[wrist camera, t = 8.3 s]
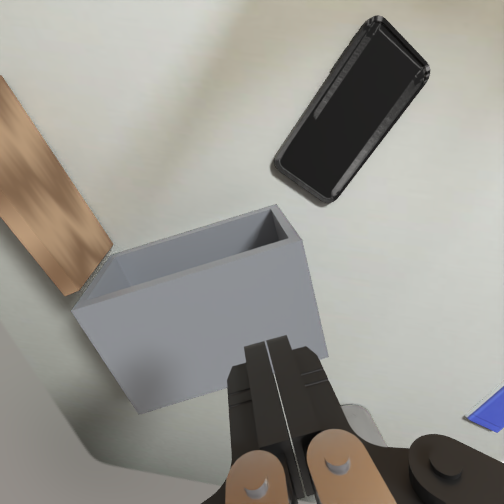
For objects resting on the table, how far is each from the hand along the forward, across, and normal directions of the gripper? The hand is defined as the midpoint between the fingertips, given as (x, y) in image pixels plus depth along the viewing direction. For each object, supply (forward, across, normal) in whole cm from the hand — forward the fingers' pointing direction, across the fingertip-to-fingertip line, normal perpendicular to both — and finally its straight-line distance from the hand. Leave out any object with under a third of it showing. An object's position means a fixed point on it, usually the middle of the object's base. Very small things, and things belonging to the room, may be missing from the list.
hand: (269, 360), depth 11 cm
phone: (+23, -13, -5) cm, 27 cm away
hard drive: (+24, -35, +42) cm, 60 cm away
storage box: (+23, +4, +8) cm, 25 cm away
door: (+22, +15, -7) cm, 28 cm away
